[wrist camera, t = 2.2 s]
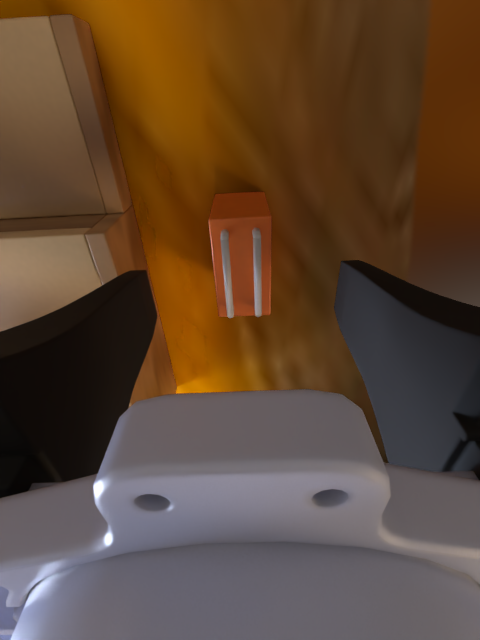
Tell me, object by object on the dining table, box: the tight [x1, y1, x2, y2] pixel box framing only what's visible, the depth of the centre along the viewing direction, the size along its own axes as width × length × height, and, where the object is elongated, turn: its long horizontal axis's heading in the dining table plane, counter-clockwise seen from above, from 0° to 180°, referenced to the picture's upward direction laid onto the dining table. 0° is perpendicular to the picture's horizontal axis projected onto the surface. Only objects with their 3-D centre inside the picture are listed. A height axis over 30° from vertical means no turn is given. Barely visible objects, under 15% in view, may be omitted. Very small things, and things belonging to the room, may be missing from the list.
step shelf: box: [0, 14, 177, 409], centre depth 14 cm, size 20×10×6 cm, turn 3°
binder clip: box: [208, 191, 272, 318], centre depth 14 cm, size 4×2×5 cm, turn 3°
